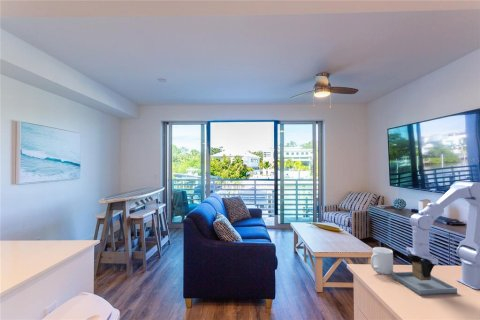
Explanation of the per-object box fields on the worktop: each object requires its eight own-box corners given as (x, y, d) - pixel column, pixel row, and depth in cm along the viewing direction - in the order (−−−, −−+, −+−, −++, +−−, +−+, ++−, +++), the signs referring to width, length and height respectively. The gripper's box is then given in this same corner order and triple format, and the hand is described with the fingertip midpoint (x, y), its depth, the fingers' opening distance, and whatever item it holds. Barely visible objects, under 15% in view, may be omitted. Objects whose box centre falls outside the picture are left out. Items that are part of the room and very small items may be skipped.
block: (421, 275, 107) (421, 261, 107) (430, 280, 102) (430, 265, 102) (412, 275, 106) (412, 261, 107) (420, 280, 102) (420, 266, 102)
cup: (397, 273, 116) (396, 251, 116) (379, 277, 111) (378, 255, 112) (381, 266, 124) (381, 246, 124) (363, 270, 119) (363, 249, 119)
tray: (423, 275, 113) (423, 271, 113) (457, 293, 97) (456, 288, 97) (391, 277, 112) (391, 272, 112) (419, 295, 96) (419, 290, 96)
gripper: (399, 237, 112) (400, 267, 111) (426, 248, 97) (427, 282, 97) (414, 237, 112) (414, 267, 112) (442, 248, 98) (443, 282, 97)
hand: (421, 274), depth 104 cm, fingers closed on block, 4 cm apart
